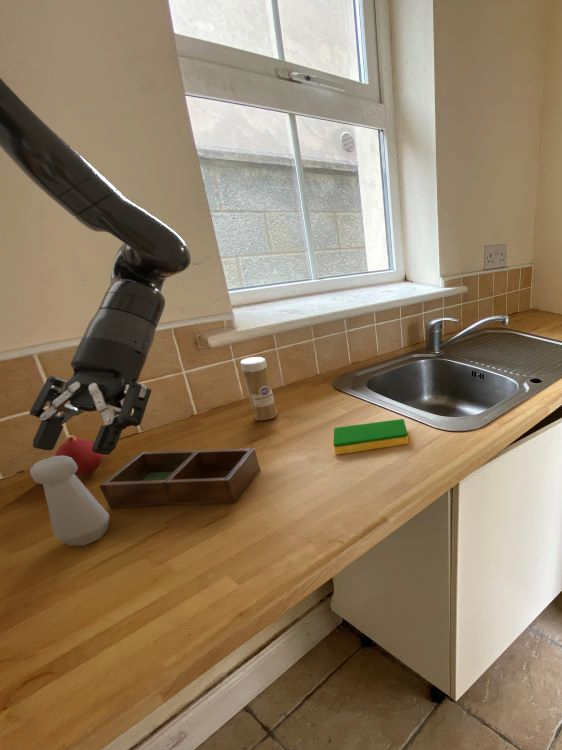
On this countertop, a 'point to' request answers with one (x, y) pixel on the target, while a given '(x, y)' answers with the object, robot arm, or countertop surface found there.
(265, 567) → the countertop surface
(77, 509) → the salt shaker
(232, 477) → the divided wooden tray
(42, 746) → the countertop surface
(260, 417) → the sprinkles bottle
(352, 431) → the dish sponge
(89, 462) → the onion
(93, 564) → the countertop surface
